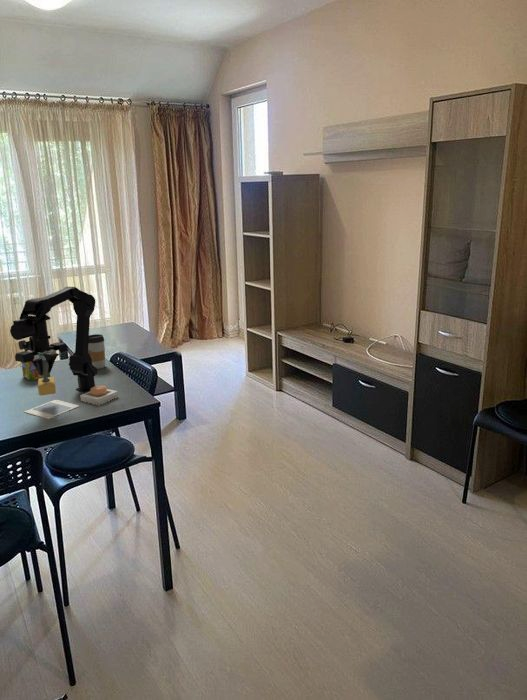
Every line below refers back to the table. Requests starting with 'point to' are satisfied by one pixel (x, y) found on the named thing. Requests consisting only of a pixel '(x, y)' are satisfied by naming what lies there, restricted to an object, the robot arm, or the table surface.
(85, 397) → the button housing
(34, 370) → the chalk box
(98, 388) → the button
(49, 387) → the rubber stamp
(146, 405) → the table surface
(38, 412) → the paper sheet
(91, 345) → the coffee cup
